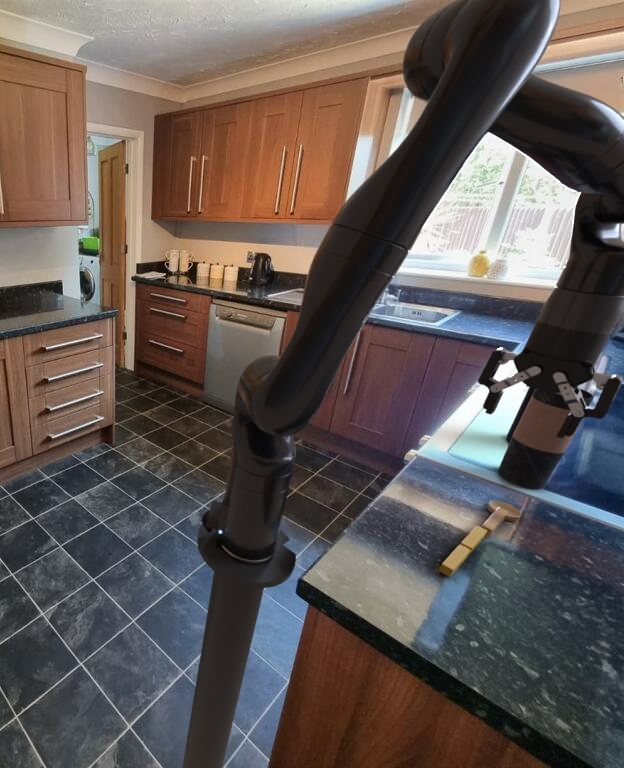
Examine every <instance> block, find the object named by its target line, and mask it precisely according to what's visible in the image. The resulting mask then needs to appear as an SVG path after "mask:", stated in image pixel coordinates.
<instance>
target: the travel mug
mask: <svg viewBox="0 0 624 768" xmlns="http://www.w3.org/2000/svg"><path fill="white" fill-rule="evenodd" d="M573 390H574V389H573ZM580 391H581V393H582V396H583V399H584V401H585V403H586V405H587V406H591V403H592V402H593V400H594V395H593V394H592V393H591V392H589V391H587V390H585V389H583V388H580ZM570 412H571V410H570V408H569V406H568V404H567V403H566V402H565V400H564V398H563V396H562V394H561V393H554V394H553V393H549V392H546V391H544V390H542V389H539V388H536V389H535V391H534V393H533V395H532V397H531V399H530V401H529V403H528V405H527V407H526V409H525V411H524V413H523V415H522V417H521V419H520V421H519V423H518V425H517V427H516V429H515V431H514V434H513V436H512V438H511V440H510V442H508V445H507V448H506V449H505V453H504V455H503V457H502V460H501V462H500V465H499V467H498V470H497V474H498V475H499V476H500V477H501V478H502V479H504V480H505V481H507V482H508V483H511V484H513V485H515V486H517V487H521V488H524V489H529V490H542V489H543V488H544V487H545V486H546V484H547V482H548V481H549V479H550V477H551V476H552V474H553V473H554V471H555V469H556V468H557V466H558V464H559V462H560V461H561V459H562V458H563V456H564V455H565V453H566V451H567V449H568V447H569V446H570V444H571V442H572V440H573V438H574V436H575V434H576V432H577V430H578V428H577V429H576V431H575V433H574V434H573V435H571V436H570V437H569V436H566V435H565V437H564V438H563V439H562V438H559V437H556V436H557V434H558V432H559V431H560V429H561V427H562V425H563V423H564V421H565V420H566V418H567V416H568V415H569V414H570ZM581 422H582V421H581ZM581 422H580V424H581ZM580 424H579V426H580Z"/></svg>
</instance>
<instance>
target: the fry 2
mask: <svg viewBox="0 0 624 768" xmlns="http://www.w3.org/2000/svg"><path fill="white" fill-rule="evenodd" d="M481 527H482V526H479V525H475V527H474V528H472V530H471V531H470V532H469V533H468V534H467V535H466V537H464V539H463V540H462V541H461V542H460V545H462V546H464V547H466V548H468V549H470V550H471V551H470V553H469V555H468V556H470V555H471V553H472V552H473V551H474V550H475V549H476V548H477V547H478V545H479V544H480V543H481V542H482V540H483V539H485V537H486V536H485V535H486V533H487V530H485V529H483V528H481Z"/></svg>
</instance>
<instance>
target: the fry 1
mask: <svg viewBox="0 0 624 768" xmlns="http://www.w3.org/2000/svg"><path fill="white" fill-rule="evenodd" d="M460 544H461V543H460ZM460 544H458V545H457V546H456V548H454V550H453V551H452V552H451V553H450V554H449V555H448V556H447V557H446V559H445V560H444V561H443V562H442V563H441V565H440V567H439V569H438V572H440V573H442V574H443V575H445V576H447V577H449V578H451V577H452V576H453V575H454V573H456V571H457V570H458V569H459V568H460V566H461V565H462V564H463V563H464V562H465V561H466V560H467V558H468V557H469V556H470V555H469V553H470V551H471V550H470V549H468V548H466V547H464V546H462V545H460ZM470 554H471V553H470Z"/></svg>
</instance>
